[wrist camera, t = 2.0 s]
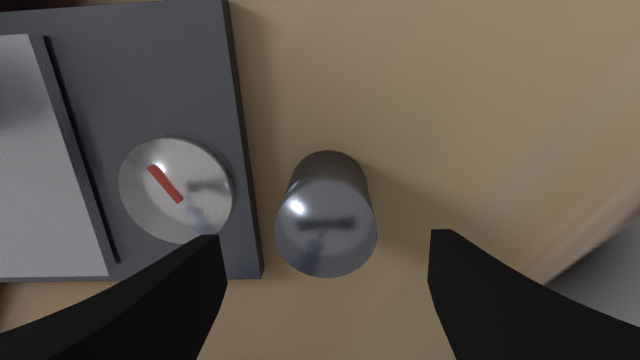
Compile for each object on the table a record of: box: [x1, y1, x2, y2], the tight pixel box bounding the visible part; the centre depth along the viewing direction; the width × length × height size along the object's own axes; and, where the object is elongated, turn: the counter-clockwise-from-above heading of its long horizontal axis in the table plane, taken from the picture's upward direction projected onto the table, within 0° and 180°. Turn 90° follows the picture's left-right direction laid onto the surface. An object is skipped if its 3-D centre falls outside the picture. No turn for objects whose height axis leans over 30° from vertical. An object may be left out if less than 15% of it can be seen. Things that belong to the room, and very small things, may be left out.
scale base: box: [0, 0, 264, 282], centre depth 17 cm, size 14×20×2 cm
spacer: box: [274, 150, 377, 278], centre depth 15 cm, size 4×4×5 cm
